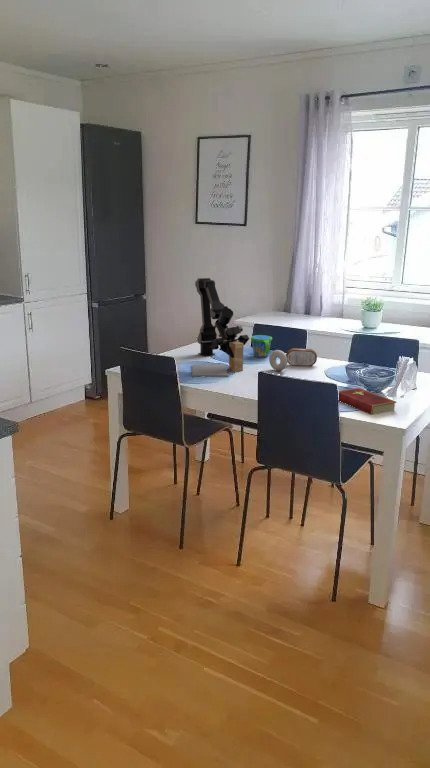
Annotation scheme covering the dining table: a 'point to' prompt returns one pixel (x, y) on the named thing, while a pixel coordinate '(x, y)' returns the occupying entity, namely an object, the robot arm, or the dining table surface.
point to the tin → (301, 357)
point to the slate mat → (209, 370)
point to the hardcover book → (366, 401)
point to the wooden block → (236, 356)
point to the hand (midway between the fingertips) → (237, 356)
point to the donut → (274, 363)
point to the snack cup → (261, 345)
